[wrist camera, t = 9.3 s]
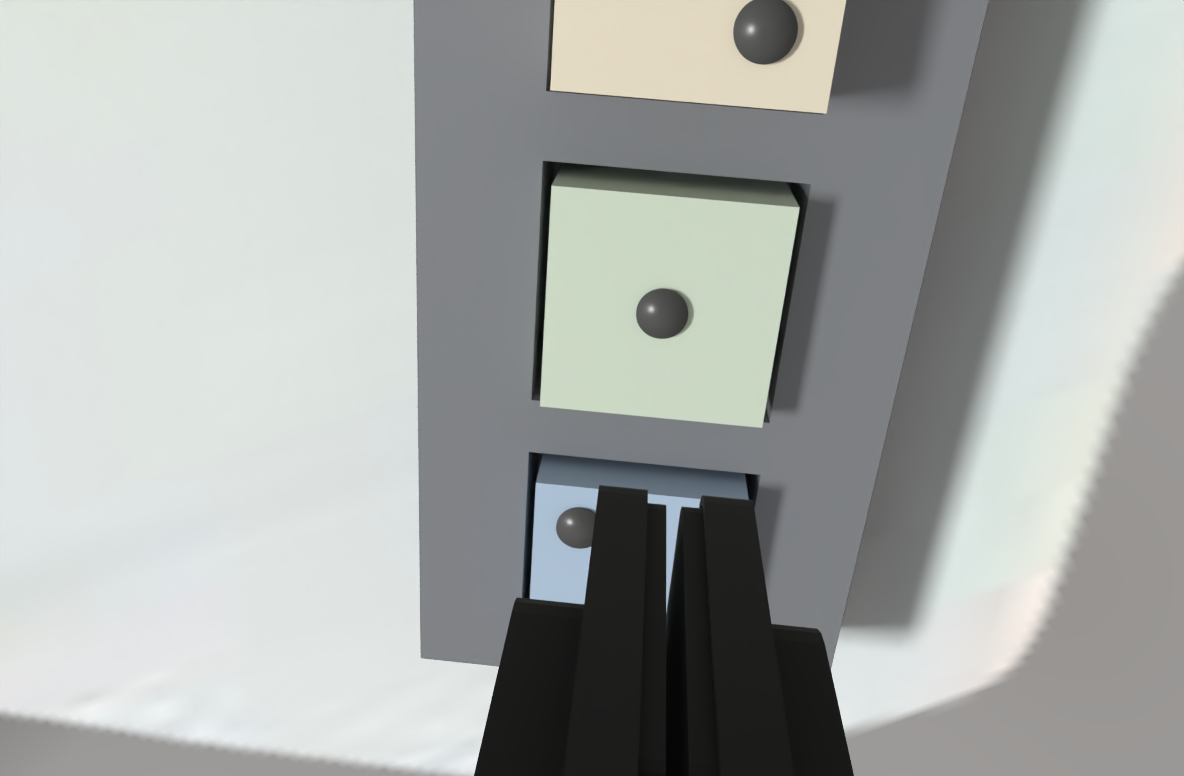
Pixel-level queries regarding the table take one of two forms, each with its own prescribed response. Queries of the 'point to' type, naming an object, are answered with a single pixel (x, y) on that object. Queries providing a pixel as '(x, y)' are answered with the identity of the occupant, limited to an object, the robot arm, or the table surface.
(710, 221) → the key one
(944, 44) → the keypad board
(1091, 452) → the table surface
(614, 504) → the robot arm
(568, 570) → the key three
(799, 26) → the key two
